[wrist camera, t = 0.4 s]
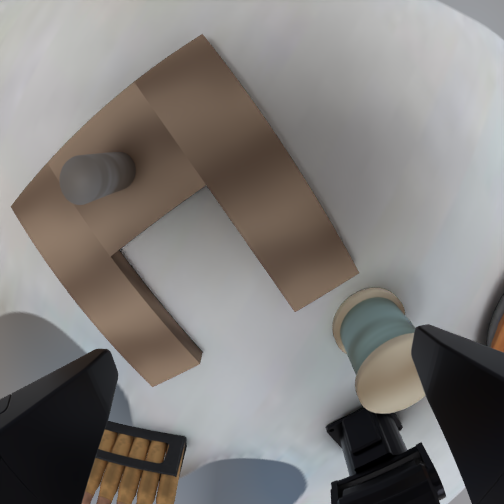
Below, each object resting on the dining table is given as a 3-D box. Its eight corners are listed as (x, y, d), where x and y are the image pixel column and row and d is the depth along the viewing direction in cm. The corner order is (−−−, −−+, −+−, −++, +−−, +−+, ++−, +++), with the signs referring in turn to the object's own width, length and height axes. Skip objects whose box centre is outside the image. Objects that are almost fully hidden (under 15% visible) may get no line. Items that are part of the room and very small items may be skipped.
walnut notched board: (352, 264, 22) (387, 308, 15) (156, 375, 25) (137, 431, 18) (205, 41, 17) (187, 0, 11) (22, 202, 20) (-34, 223, 14)
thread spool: (410, 326, 23) (450, 380, 17) (350, 363, 24) (376, 425, 18) (386, 273, 22) (432, 321, 15) (319, 314, 23) (343, 377, 16)
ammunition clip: (186, 436, 27) (168, 539, 16) (186, 446, 28) (170, 544, 17) (88, 415, 27) (47, 502, 15) (91, 426, 27) (54, 510, 16)
